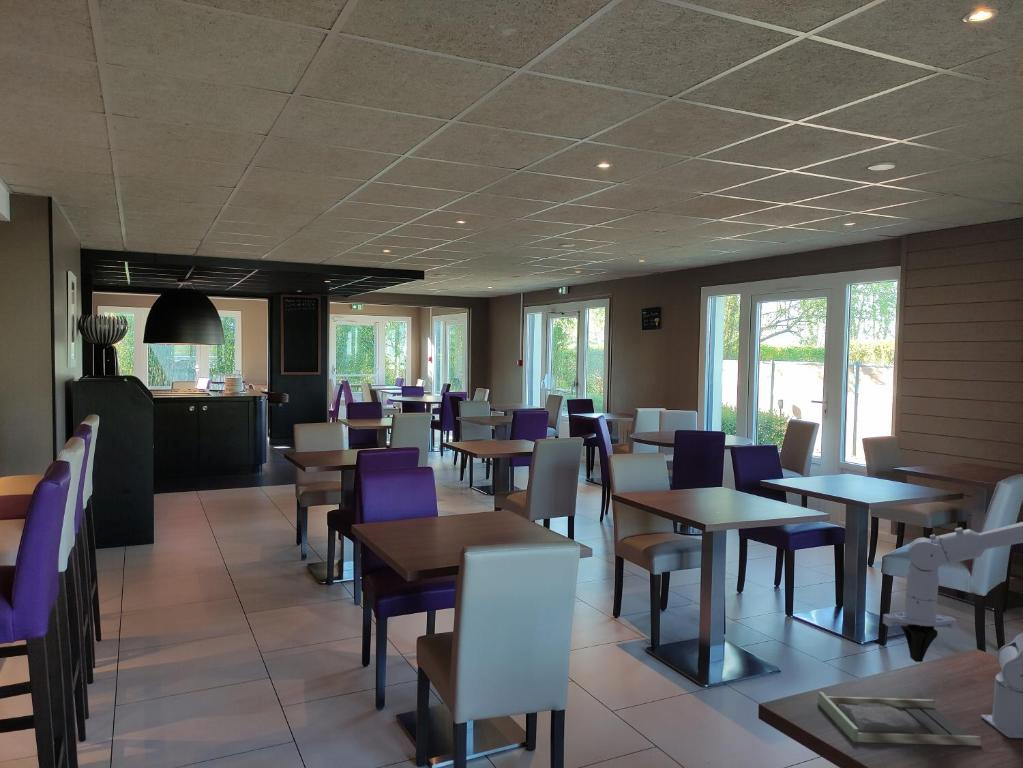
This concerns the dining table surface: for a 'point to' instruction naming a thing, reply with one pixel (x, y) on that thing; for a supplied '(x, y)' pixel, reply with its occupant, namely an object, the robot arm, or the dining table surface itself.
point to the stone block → (877, 718)
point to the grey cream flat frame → (905, 737)
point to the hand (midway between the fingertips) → (916, 659)
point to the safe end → (838, 717)
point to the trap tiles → (938, 718)
